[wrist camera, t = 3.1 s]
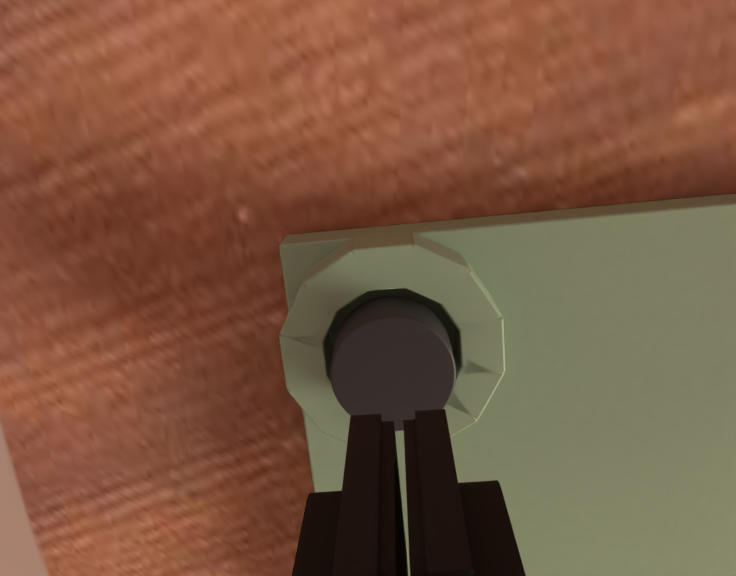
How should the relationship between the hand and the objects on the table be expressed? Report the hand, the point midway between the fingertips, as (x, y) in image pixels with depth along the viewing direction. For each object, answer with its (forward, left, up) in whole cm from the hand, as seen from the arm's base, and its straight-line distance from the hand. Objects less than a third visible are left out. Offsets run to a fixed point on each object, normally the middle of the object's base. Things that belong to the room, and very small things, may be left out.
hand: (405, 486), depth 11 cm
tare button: (0, 0, -7) cm, 7 cm away
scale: (+5, -4, -10) cm, 11 cm away
